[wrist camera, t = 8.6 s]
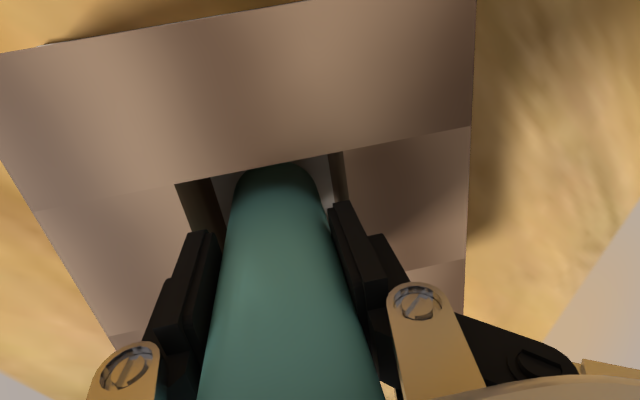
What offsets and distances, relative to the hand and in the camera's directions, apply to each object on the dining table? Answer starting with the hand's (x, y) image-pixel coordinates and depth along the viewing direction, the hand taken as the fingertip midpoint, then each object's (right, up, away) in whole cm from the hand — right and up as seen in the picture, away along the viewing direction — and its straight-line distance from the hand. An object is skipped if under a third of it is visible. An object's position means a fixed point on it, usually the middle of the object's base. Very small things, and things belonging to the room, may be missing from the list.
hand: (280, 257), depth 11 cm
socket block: (-1, +3, +6) cm, 6 cm away
